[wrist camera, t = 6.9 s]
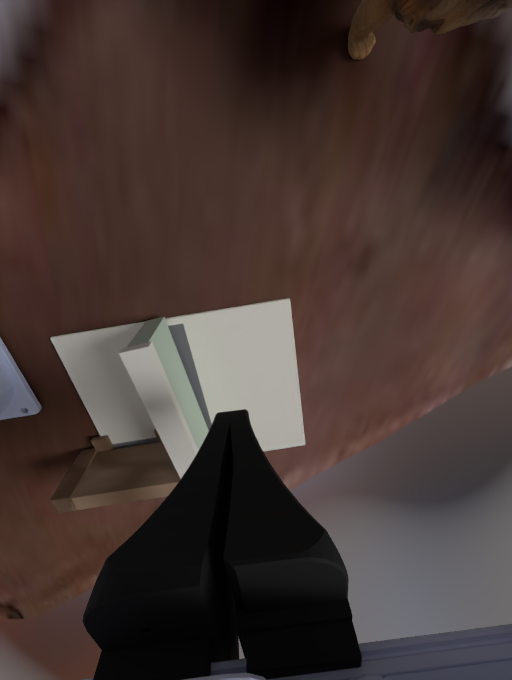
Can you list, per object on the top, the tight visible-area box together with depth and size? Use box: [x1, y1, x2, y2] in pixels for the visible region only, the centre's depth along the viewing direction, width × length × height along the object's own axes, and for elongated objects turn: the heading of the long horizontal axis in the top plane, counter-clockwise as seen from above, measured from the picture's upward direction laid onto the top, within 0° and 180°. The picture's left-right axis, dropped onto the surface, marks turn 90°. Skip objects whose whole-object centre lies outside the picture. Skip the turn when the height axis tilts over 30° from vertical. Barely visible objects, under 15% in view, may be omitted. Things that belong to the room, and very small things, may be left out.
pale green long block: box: [119, 317, 209, 479], centre depth 19 cm, size 12×2×4 cm, turn 13°
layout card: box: [50, 298, 305, 451], centre depth 22 cm, size 16×13×1 cm
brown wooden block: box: [50, 428, 180, 514], centre depth 22 cm, size 9×4×4 cm, turn 99°
